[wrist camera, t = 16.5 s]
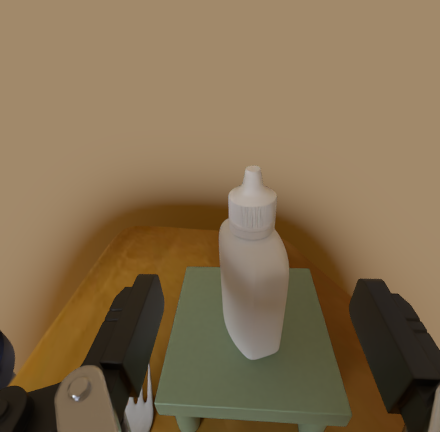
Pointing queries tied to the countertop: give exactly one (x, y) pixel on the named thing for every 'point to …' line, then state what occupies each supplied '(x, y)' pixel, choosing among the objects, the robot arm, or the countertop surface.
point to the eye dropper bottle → (253, 268)
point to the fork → (141, 410)
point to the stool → (250, 363)
